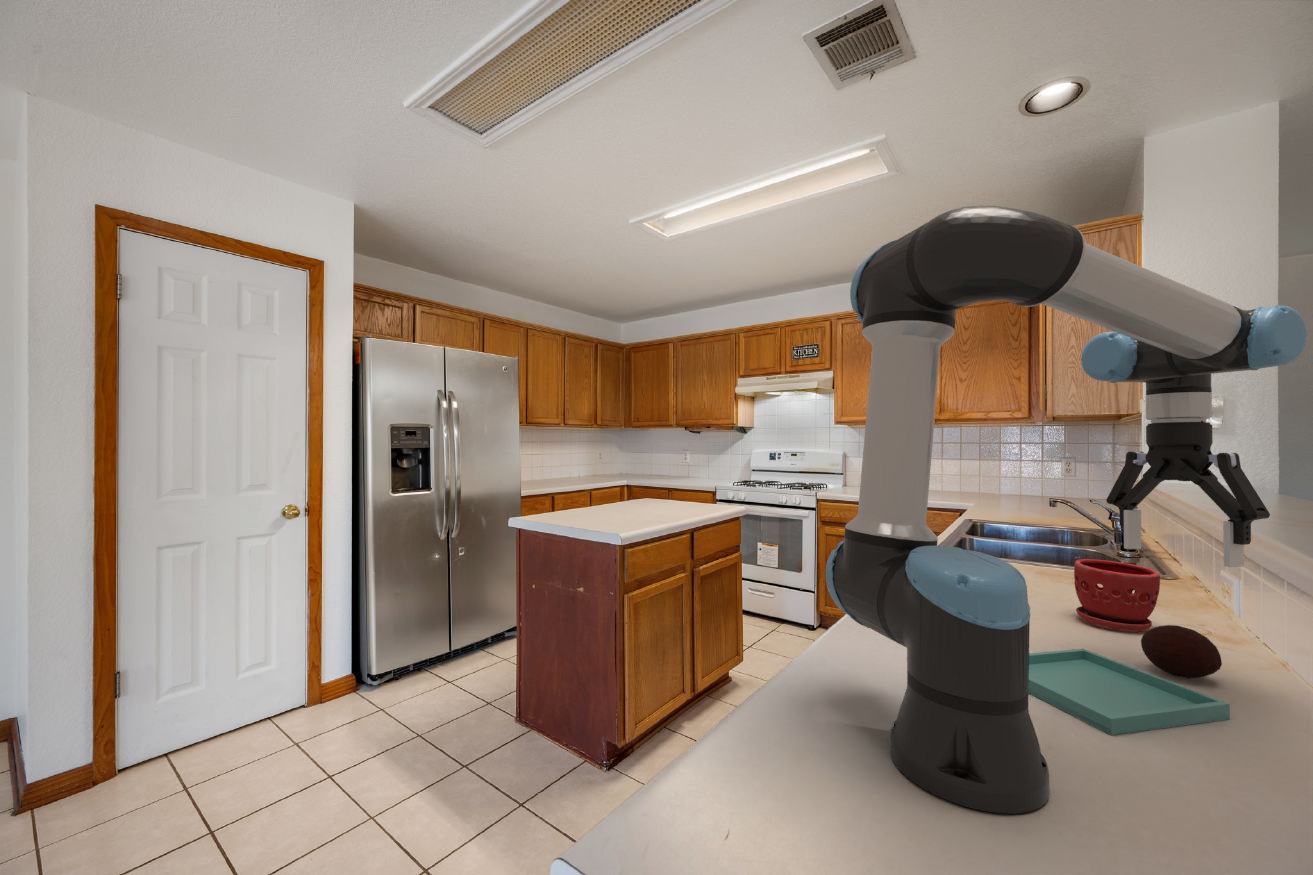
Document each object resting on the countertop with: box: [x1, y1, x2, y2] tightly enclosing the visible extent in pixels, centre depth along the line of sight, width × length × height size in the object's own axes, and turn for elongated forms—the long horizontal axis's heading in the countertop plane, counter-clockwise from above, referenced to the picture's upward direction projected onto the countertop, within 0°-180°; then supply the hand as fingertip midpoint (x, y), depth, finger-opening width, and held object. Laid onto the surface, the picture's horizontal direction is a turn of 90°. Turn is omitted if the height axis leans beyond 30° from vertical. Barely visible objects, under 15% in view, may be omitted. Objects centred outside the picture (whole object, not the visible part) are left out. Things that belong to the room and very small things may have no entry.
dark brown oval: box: [1140, 624, 1223, 679], centre depth 84 cm, size 8×9×8 cm
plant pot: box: [1073, 558, 1161, 633], centre depth 108 cm, size 13×13×12 cm
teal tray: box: [1028, 648, 1231, 736], centre depth 78 cm, size 20×20×2 cm
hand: (1179, 556), depth 85 cm, fingers open, 13 cm apart
